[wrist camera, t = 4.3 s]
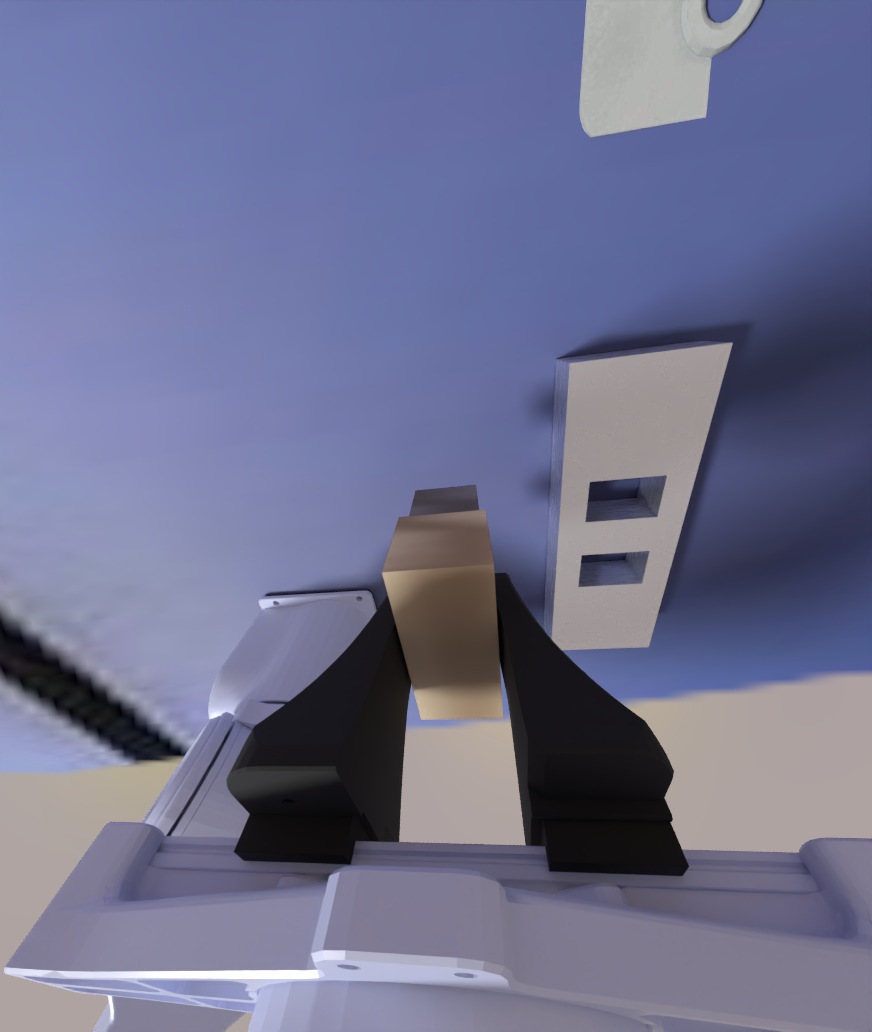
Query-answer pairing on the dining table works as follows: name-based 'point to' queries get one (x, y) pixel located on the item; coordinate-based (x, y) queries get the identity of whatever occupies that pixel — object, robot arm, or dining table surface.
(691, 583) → the dining table surface
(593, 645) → the grey plate with holes
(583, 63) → the white tag with ring
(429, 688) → the clip
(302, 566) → the dining table surface
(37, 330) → the dining table surface
